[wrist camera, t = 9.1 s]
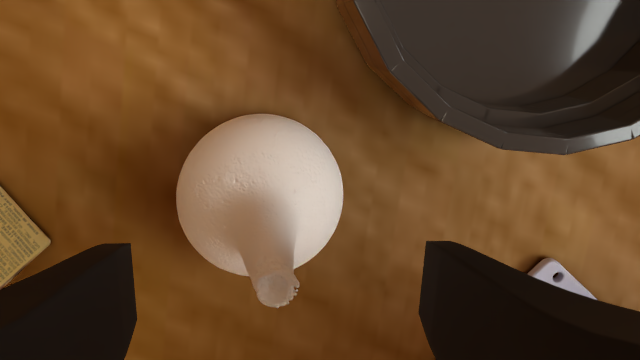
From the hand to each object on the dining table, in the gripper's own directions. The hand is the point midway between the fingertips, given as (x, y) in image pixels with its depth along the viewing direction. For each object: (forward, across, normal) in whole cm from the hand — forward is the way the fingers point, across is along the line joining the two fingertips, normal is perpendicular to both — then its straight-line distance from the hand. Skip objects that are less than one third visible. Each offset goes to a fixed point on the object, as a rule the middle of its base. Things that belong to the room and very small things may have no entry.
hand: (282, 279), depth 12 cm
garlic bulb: (+9, +1, 0) cm, 9 cm away
